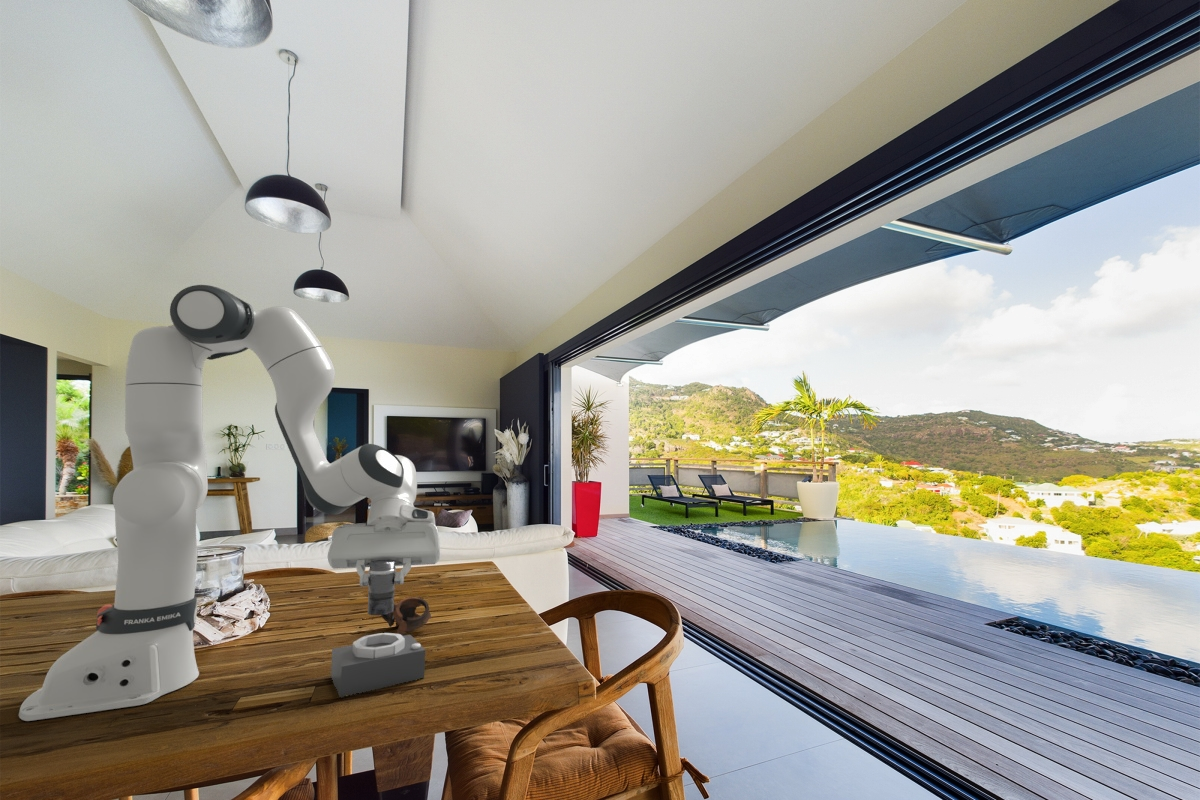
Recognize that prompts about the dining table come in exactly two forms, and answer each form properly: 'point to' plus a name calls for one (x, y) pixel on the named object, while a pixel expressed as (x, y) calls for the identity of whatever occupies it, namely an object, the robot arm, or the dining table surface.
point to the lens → (381, 587)
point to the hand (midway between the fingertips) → (381, 583)
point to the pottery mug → (408, 615)
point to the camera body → (376, 663)
